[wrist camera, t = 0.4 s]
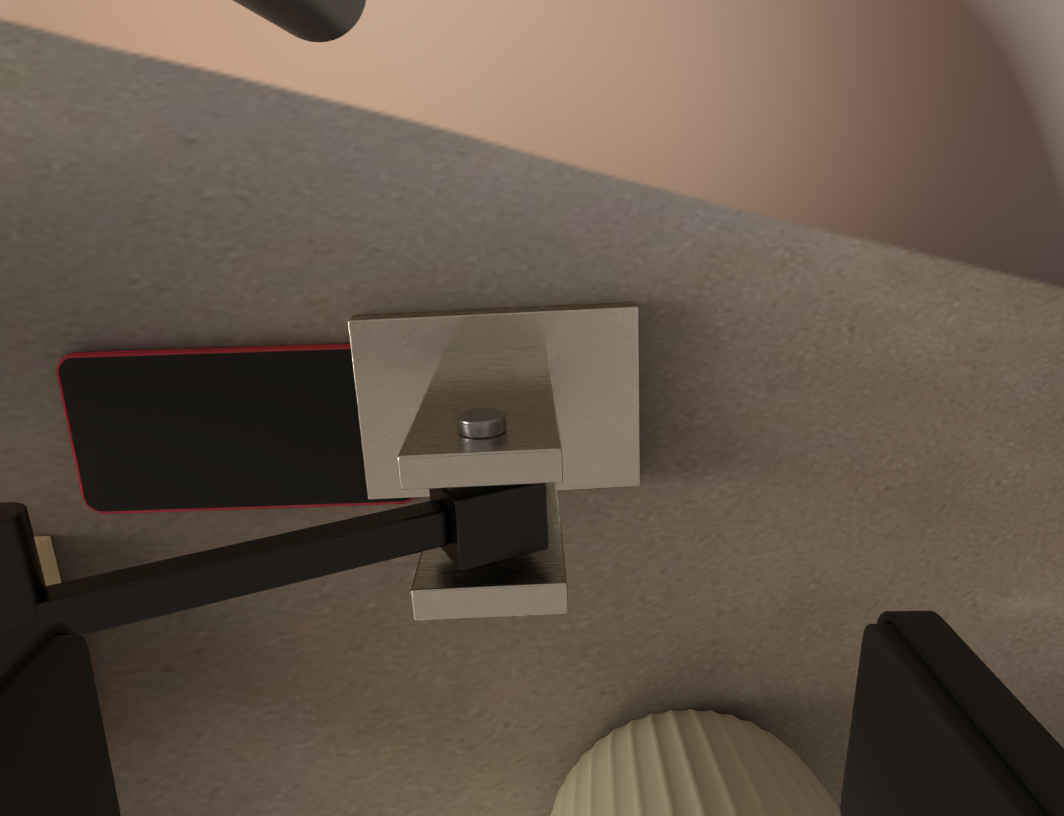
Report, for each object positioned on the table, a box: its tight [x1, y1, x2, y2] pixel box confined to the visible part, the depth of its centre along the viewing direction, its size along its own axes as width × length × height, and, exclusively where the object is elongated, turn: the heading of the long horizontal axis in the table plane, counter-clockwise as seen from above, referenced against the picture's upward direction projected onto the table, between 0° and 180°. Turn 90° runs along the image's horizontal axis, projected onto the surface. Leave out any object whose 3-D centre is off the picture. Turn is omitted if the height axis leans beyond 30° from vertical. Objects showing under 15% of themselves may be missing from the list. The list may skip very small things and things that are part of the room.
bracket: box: [348, 302, 640, 621], centre depth 29 cm, size 12×8×14 cm, turn 93°
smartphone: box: [56, 343, 415, 514], centre depth 35 cm, size 7×1×15 cm
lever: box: [0, 483, 549, 636], centre depth 21 cm, size 14×6×2 cm, turn 93°
